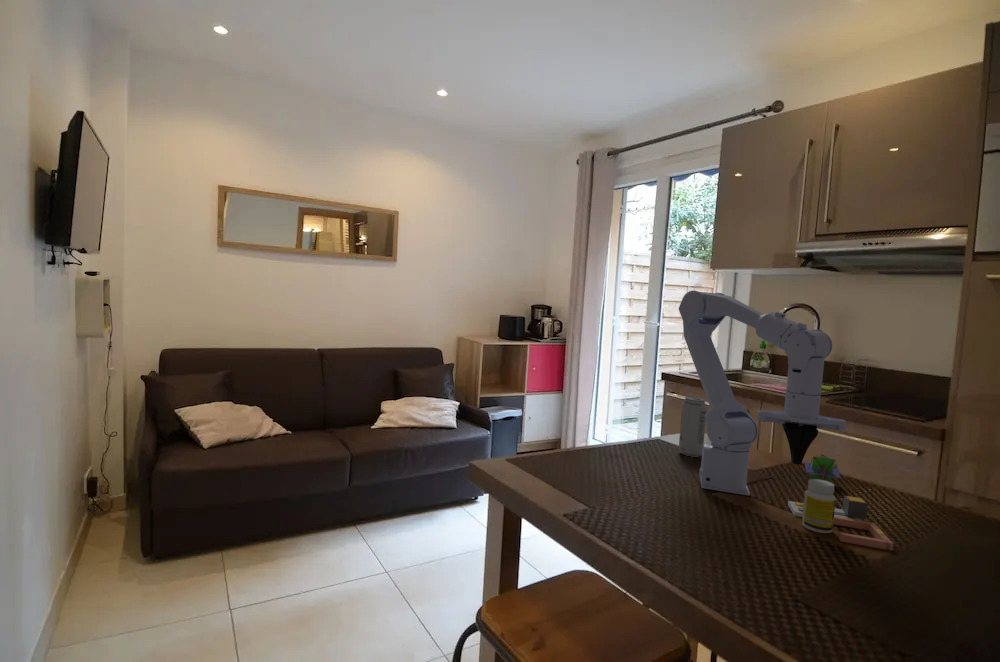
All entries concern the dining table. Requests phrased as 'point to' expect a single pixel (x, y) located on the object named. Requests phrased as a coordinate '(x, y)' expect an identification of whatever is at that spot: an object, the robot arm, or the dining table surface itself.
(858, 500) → the block
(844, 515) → the panel
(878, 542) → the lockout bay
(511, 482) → the dining table surface
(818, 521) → the supplement bottle
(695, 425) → the energy drink can
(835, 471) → the geometric puzzle
